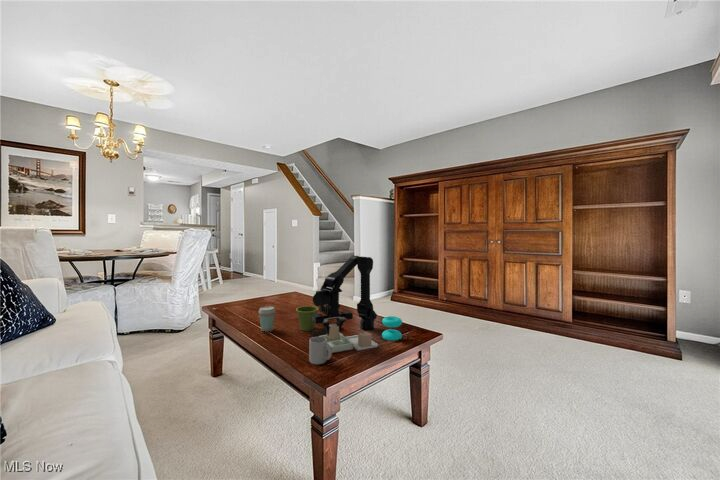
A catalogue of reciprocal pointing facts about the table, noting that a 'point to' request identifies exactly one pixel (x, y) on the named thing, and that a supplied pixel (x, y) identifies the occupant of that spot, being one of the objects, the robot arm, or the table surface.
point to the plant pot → (306, 317)
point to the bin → (339, 343)
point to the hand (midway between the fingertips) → (332, 334)
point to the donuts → (392, 333)
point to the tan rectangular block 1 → (333, 331)
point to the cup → (319, 350)
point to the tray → (355, 344)
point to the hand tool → (320, 331)
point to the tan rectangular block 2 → (364, 339)
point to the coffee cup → (266, 318)
